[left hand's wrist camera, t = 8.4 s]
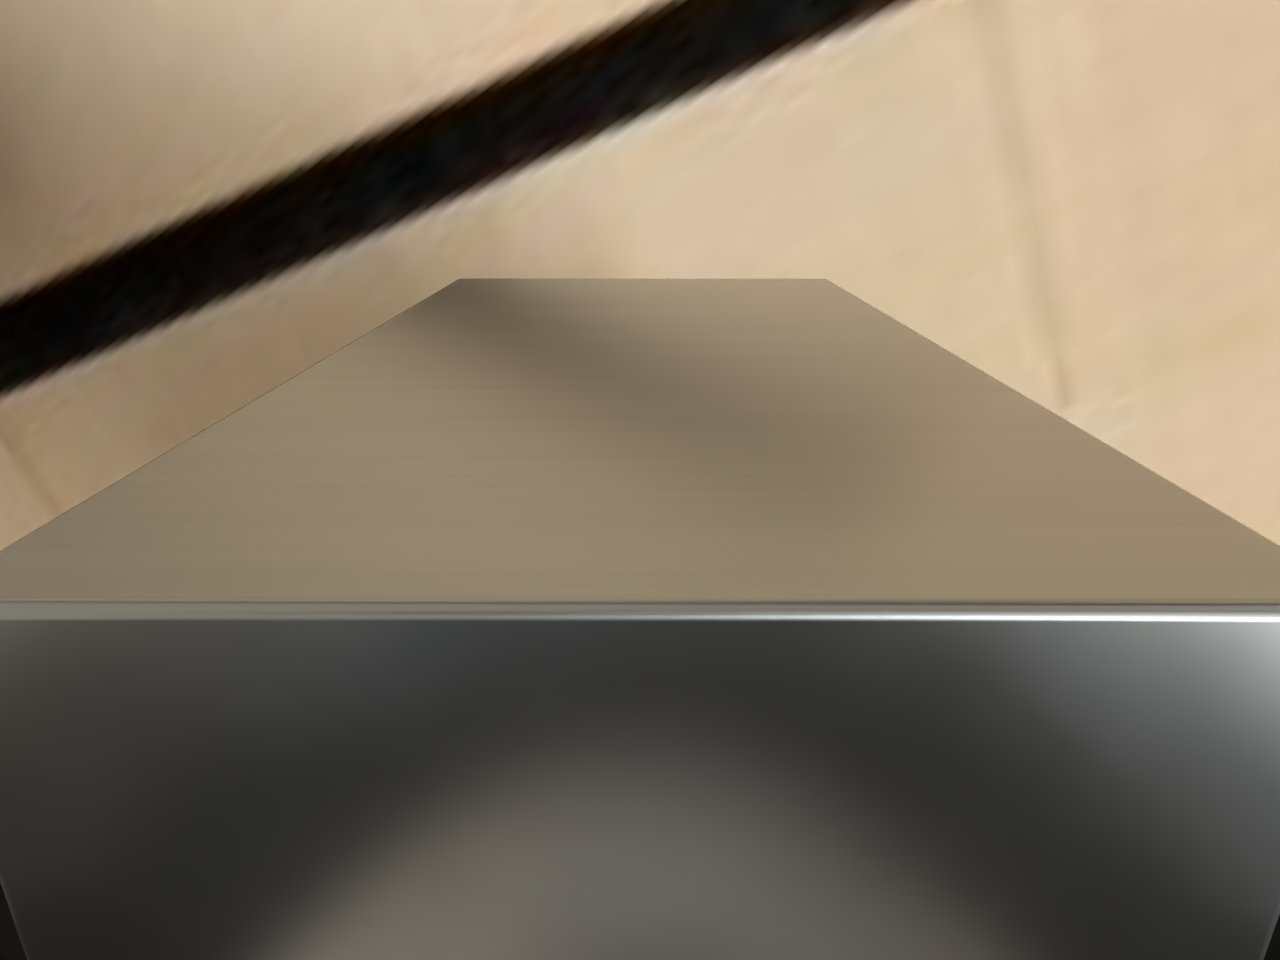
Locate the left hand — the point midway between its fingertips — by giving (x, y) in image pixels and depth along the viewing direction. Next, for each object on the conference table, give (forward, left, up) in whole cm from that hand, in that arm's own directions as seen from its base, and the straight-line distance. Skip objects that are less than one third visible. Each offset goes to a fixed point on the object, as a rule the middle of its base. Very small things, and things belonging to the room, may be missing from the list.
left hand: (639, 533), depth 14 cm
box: (+9, +2, -4) cm, 10 cm away
